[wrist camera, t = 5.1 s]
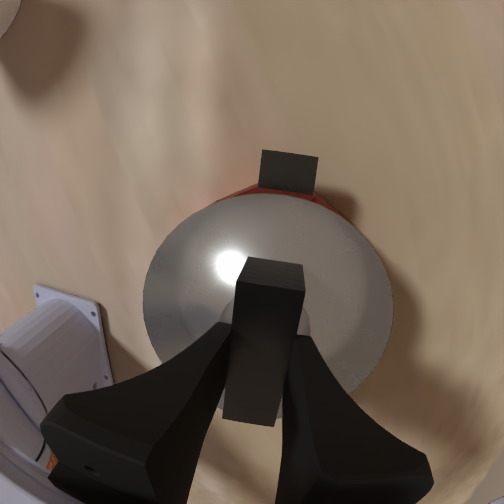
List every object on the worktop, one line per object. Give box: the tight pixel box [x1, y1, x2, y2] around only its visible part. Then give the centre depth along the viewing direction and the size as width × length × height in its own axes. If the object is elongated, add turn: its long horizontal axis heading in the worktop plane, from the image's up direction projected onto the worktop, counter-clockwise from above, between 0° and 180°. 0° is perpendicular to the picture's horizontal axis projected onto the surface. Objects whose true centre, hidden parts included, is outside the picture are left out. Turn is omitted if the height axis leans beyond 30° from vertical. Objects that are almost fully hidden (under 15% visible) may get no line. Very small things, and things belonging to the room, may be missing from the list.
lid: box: [143, 193, 393, 427], centre depth 12 cm, size 12×12×4 cm
